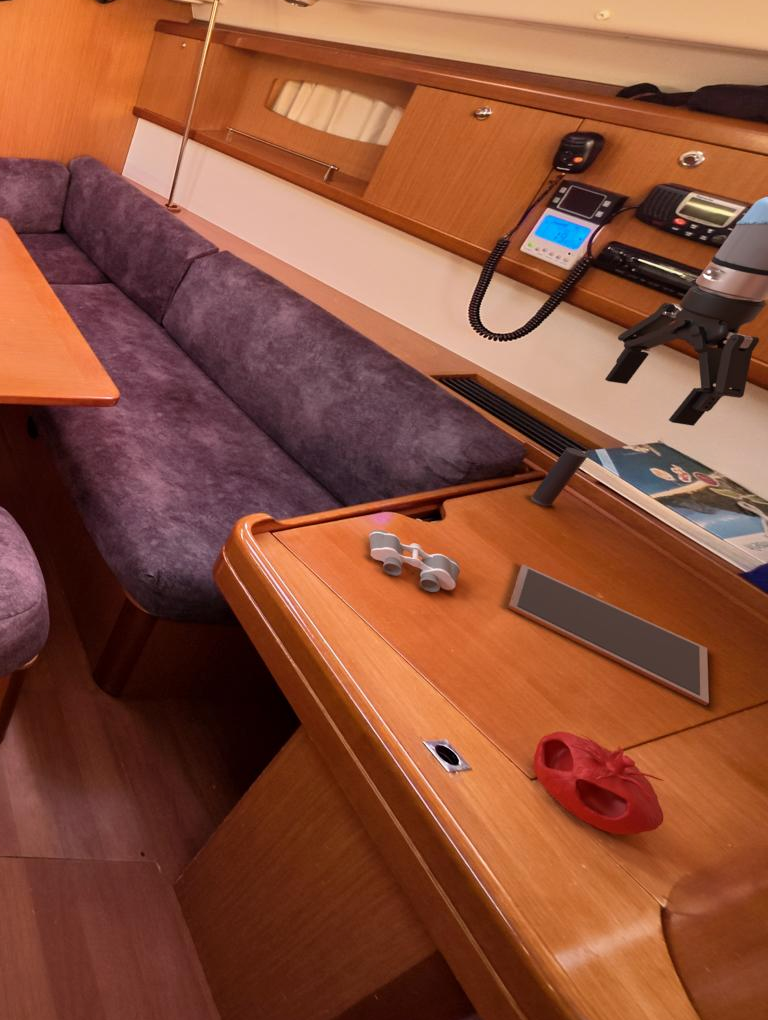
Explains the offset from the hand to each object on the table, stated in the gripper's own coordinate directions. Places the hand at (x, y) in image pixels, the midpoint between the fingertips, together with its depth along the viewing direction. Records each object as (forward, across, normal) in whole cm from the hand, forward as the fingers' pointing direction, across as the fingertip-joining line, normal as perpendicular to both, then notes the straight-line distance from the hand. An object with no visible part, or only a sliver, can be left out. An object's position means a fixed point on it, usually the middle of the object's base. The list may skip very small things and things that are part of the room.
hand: (646, 401), depth 110 cm
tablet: (+26, +32, -13) cm, 43 cm away
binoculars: (+26, +28, -37) cm, 53 cm away
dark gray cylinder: (+26, -2, -2) cm, 26 cm away
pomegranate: (+26, +64, -35) cm, 77 cm away
